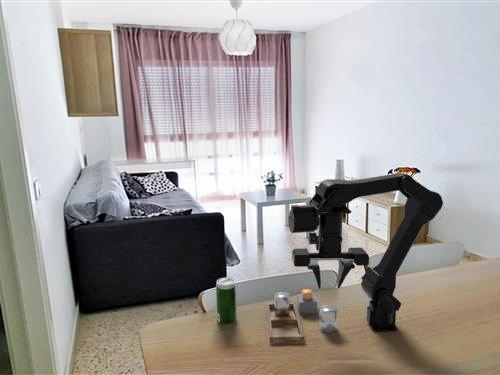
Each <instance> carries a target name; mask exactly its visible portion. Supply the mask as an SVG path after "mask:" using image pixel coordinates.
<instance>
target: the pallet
mask: <svg viewBox="0 0 500 375" xmlns="http://www.w3.org/2000/svg"><path fill="white" fill-rule="evenodd" d="M265 315H266V316H265V317H266V327H267V328H266V329H267V339H268V344H269V345H273V344H275V345H276V344H279V345H280V344H306V341H305V335H304V329H303V327H302V323H301V319H300V314H299V310H298V306H297V302H295V301H292V302H290V317H275V316H274V302H266V303H265Z"/></svg>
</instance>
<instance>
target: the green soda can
mask: <svg viewBox="0 0 500 375" xmlns="http://www.w3.org/2000/svg"><path fill="white" fill-rule="evenodd" d="M236 284H237V283H236V282H235V279H233V277H221V278H218V279H217V280H216V284H215V289H216V290H215V291H216V292H215V293H216V297H215V298H216V320H217V323H218V324H220V325H223V326H229V325H232V324H234V323H236V322H237V320H238V319H237V318H238V317H237V293H236V292H237V287H236V286H237V285H236Z"/></svg>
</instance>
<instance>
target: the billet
mask: <svg viewBox="0 0 500 375" xmlns="http://www.w3.org/2000/svg"><path fill="white" fill-rule="evenodd" d="M337 313H338V309H337V308H336V307H335V306H333V305H330V304H324V305H321V306H320V307H319V322H318V323H319V330H320V331H322V332H324V333H326V334H327V333H329V334H331V333H335V332H336V331H337V317H338V316H337V315H338V314H337Z"/></svg>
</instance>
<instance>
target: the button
mask: <svg viewBox="0 0 500 375" xmlns="http://www.w3.org/2000/svg"><path fill="white" fill-rule="evenodd" d="M301 294H302V299H303V300H307V301H309V300H312V294H313V290H312V289H308V288H306V289H303V290H301Z"/></svg>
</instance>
